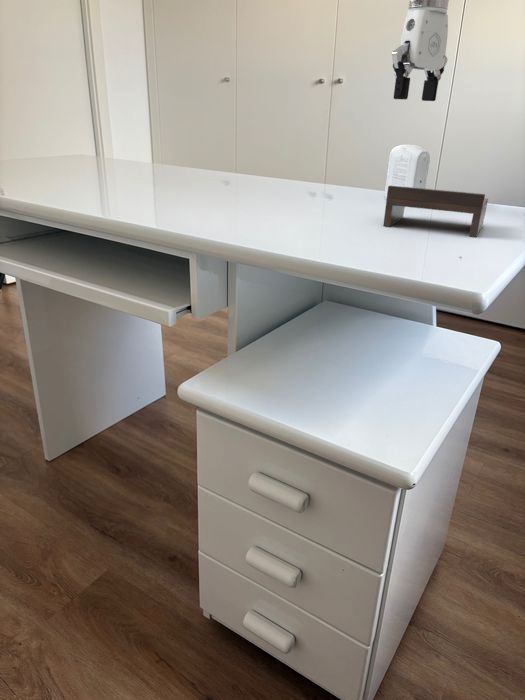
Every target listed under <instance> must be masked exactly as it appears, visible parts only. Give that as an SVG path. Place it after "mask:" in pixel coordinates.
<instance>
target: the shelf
mask: <svg viewBox="0 0 525 700" xmlns="http://www.w3.org/2000/svg"><path fill="white" fill-rule="evenodd" d="M385 200H386V201H385V209H384V217H383V223H382V226H383V227H387V228H390V227H392V226H393V225H394V224H395V223H398V221H400V220H402V219H403V218H404V213H405V208H414V209H422V210H423V209H425V210H432V211H433V210H434V211H445V212H452V213H464V214H472V218H471V224H470V229H469V233H468V237H472V238H477V237H478V235H479V234H480V231H481V230H482V228H483V226H484V221H485V216H486V212H487V208H488V207H487V206H488V201H489V198H488V197H487V198H486V193H478V192H466V191H457V190H456V191H455V190H444V189H434V188H425V189H423V188H412V187H401V186H388V192H387V199H385Z"/></svg>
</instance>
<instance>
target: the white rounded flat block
mask: <svg viewBox="0 0 525 700" xmlns="http://www.w3.org/2000/svg"><path fill="white" fill-rule="evenodd" d="M430 157H431V156H430V153H429V151H427V150H426V149H425V148H424V147H422V146H419V145H417V144H412V143H411V144H407V143H405V144H400V145H397V146H394V147H393V148H392V149H391V151H390V153H389V158H388V165H387V173H386V181H385V187H384V195H383V196H384V199H385V200H387V192H388V186H401V187H412V188H423V189H426V186H427V179H428V173H429V167H430V162H431V158H430Z"/></svg>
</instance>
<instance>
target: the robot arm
mask: <svg viewBox="0 0 525 700" xmlns="http://www.w3.org/2000/svg"><path fill="white" fill-rule="evenodd" d="M449 3H450V0H409V2H408V10H407V13H406V17H405V20H404V23H403V28H402V33H401V39H400V44H399V46H398V47H397V48H396V49H394V50H393V51H392V52H391V58H392V68H393V71H394V73H393V75H394V78H395V83H394V91H393V99H394V100H407V99H408V98H409V91H410V84H411V77H409V75H410V74H411V73H412V72H413V70H421V71H422V70H423V71H424V75H425V78H426V79H424V81H423V87H422V94H421V101H422V102H435V101H436V99H437V94H438V87H439V81H440V80H441V79H442V75H443V73H444V71H445V67H446V65H447V64H448V57H447V56H446V54H447V53H446V52H447V45H448V34H449V33H448V32H449V15H448V8H449Z"/></svg>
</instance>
